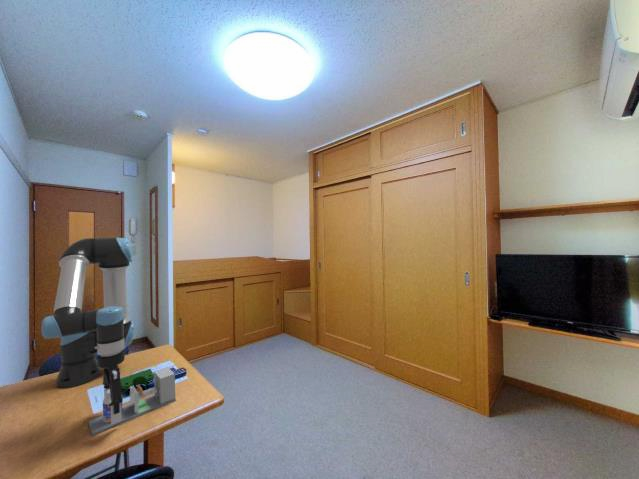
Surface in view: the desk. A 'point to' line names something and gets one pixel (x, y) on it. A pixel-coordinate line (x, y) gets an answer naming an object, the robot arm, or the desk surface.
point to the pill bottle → (108, 407)
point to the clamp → (136, 379)
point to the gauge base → (143, 402)
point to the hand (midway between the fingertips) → (112, 413)
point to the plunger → (139, 395)
